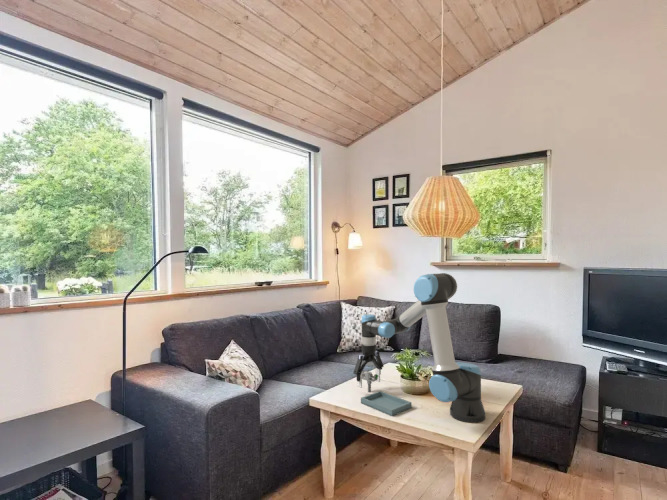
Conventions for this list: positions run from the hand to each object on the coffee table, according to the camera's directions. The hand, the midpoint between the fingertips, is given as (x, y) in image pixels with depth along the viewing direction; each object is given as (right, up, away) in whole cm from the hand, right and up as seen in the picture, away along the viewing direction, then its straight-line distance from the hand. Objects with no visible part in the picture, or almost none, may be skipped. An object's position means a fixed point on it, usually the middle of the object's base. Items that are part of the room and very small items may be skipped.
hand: (368, 384), depth 203 cm
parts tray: (+6, -4, -19) cm, 20 cm away
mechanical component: (0, -4, 0) cm, 4 cm away
